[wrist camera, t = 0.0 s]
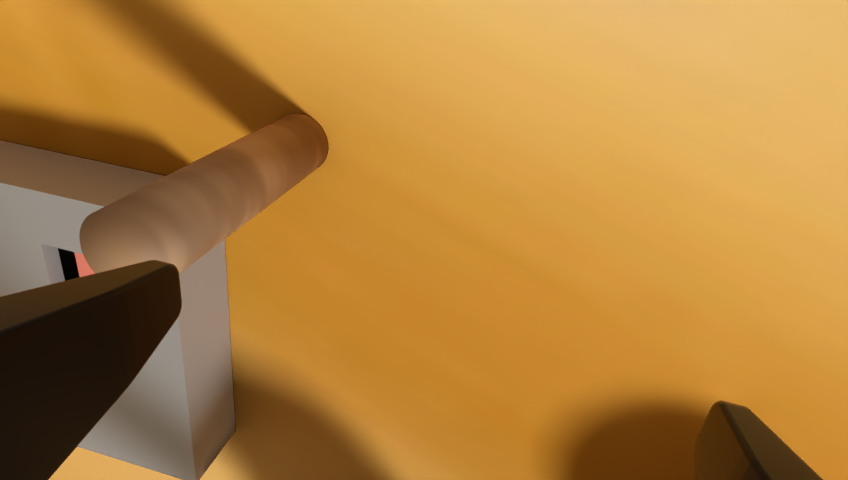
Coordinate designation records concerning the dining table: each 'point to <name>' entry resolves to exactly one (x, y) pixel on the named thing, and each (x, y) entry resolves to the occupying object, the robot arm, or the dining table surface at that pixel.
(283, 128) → the tan rounded rod
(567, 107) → the dining table surface
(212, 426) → the panel
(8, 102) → the dining table surface
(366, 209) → the dining table surface
